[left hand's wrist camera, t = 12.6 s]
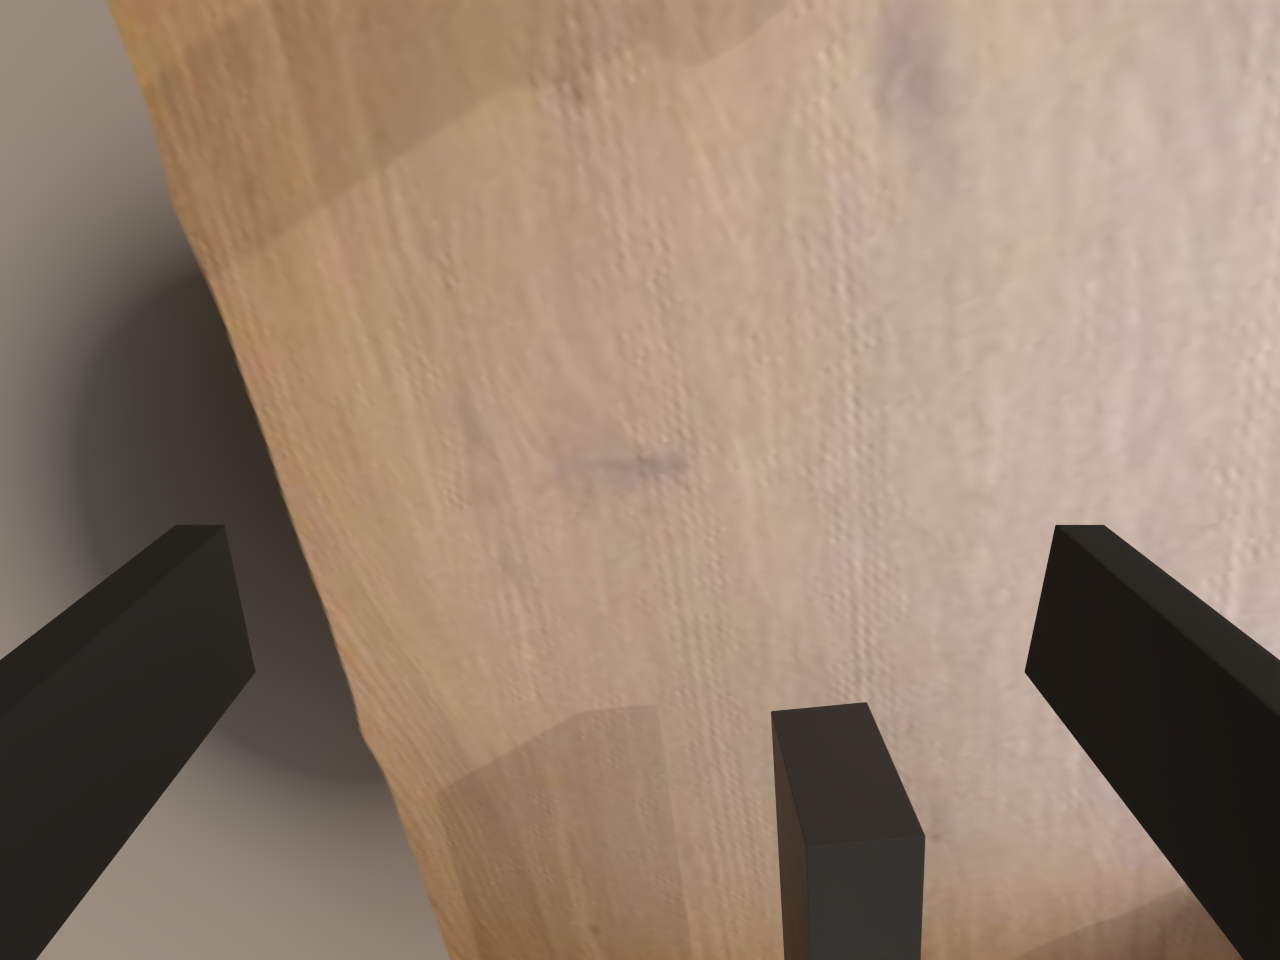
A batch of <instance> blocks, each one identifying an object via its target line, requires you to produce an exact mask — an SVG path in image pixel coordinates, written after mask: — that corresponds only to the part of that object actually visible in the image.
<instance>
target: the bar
mask: <svg viewBox="0 0 1280 960" xmlns="http://www.w3.org/2000/svg"><path fill="white" fill-rule="evenodd" d="M771 720H772V738H773V757H774V775H775V794H776V812H777V830H778V849H779V867H780V886H781V904H782V922H783V941H784V959H785V960H920V958H921V933H922V907H923V881H924V856H925V834H924V832H923V830H922V828H921V825H920V823H919V821H918V818H917V816H916V814H915V812H914V809H913V807H912V805H911V802H910V800H909V798H908V796H907V793H906V791H905V789H904V786H903V784H902V782H901V780H900V777H899V775H898V773H897V770H896V768H895V766H894V764H893V761H892V759H891V757H890V754H889V752H888V750H887V748H886V745H885V743H884V741H883V738H882V736H881V734H880V731H879V729H878V727H877V725H876V722H875V720H874V718H873V715H872V713H871V711H870V709H869V706H868V704H867V702H864V703H853V704H843V705H833V706H822V707H812V708H801V709H791V710H780V711H772V712H771Z"/></svg>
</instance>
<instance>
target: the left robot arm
mask: <svg viewBox="0 0 1280 960" xmlns="http://www.w3.org/2000/svg"><path fill="white" fill-rule="evenodd" d="M254 673H255V668H254V663H253V658H252V653H251V649H250V644H249V639H248V635H247V630H246V625H245V620H244V616H243V611H242V606H241V602H240V597H239V592H238V587H237V583H236V578H235V573H234V568H233V563H232V559H231V554H230V549H229V544H228V540H227V535H226V530H225V526H224V525H175V526H174V527H173V528H171V529H170V530H169V531H167V532H166V533H165V534H164V535H162V536H161V537H160V538H158V539H157V540H156V541H155V542H153V543H152V544H151V545H149V546H148V547H147V548H145V549H144V550H143V551H142V552H140V553H139V554H138V555H136V556H135V557H134V558H133V559H131V560H130V561H129V562H127V563H126V564H125V565H123V566H122V567H121V568H119V569H118V570H117V571H116V572H114V573H113V574H112V575H110V576H109V577H108V578H106V579H105V580H104V581H103V582H101V583H100V584H99V585H97V586H96V587H95V588H93V589H92V590H91V591H90V592H88V593H87V594H86V595H84V596H83V597H82V598H80V599H79V600H78V601H77V602H75V603H74V604H73V605H71V606H70V607H69V608H67V609H66V610H65V611H64V612H62V613H61V614H60V615H58V616H57V617H56V618H54V619H53V620H52V621H51V622H49V623H48V624H47V625H45V626H44V627H43V628H41V629H40V630H39V631H38V632H36V633H35V634H34V635H32V636H31V637H30V638H28V639H27V640H26V641H25V642H23V643H22V644H21V645H19V646H18V647H17V648H16V649H14V650H13V651H12V652H10V653H9V654H8V655H6V656H5V657H4V658H2V659H1V660H0V960H36V959H37V958H38V956H39V955H40V954H41V952H42V951H43V950H44V948H45V947H46V946H47V944H48V943H49V942H50V941H51V939H52V938H53V937H54V935H55V934H56V933H57V931H58V930H59V929H60V928H61V926H62V925H63V924H64V922H65V921H66V920H67V918H68V917H69V916H70V914H71V913H72V912H73V910H74V909H75V908H76V907H77V905H78V904H79V903H80V901H81V900H82V899H83V897H84V896H85V895H86V893H87V892H88V891H89V889H90V888H91V887H92V886H93V884H94V883H95V882H96V880H97V879H98V878H99V876H100V875H101V874H102V872H103V871H104V870H105V868H106V867H107V866H108V865H109V863H110V862H111V861H112V859H113V858H114V857H115V855H116V854H117V853H118V851H119V850H120V849H121V847H122V846H123V845H124V844H125V842H126V841H127V840H128V838H129V837H130V836H131V834H132V833H133V832H134V831H135V829H136V828H137V826H138V825H139V824H140V823H141V821H142V820H143V819H144V817H145V816H146V815H147V813H148V812H149V811H150V810H151V808H152V807H153V806H154V804H155V803H156V802H157V800H158V799H159V798H160V796H161V795H162V794H163V792H164V791H165V790H166V788H167V787H168V786H169V785H170V783H171V782H172V781H173V779H174V778H175V777H176V775H177V774H178V773H179V772H180V770H181V769H182V767H183V766H184V765H185V764H186V762H187V761H188V760H189V758H190V757H191V756H192V754H193V753H194V752H195V751H196V749H197V748H198V747H199V745H200V744H201V743H202V741H203V740H204V739H205V737H206V736H207V735H208V734H209V732H210V731H211V730H212V728H213V727H214V726H215V724H216V723H217V722H218V720H219V719H220V718H221V716H222V715H223V714H224V713H225V711H226V710H227V709H228V707H229V706H230V705H231V703H232V702H233V701H234V699H235V698H236V697H237V695H238V694H239V693H240V692H241V690H242V689H243V688H244V686H245V685H246V684H247V682H248V681H249V680H250V678H251V677H252V676H253V675H254ZM1025 673H1026V675H1027V676H1028V677H1029V678H1030V680H1031V681H1032V682H1033V684H1034V685H1035V686H1036V688H1037V689H1038V690H1039V692H1040V693H1041V694H1042V695H1043V697H1044V698H1045V699H1046V701H1047V702H1048V703H1049V705H1050V706H1051V707H1052V709H1053V710H1054V711H1055V713H1056V714H1057V715H1058V716H1059V718H1060V719H1061V720H1062V722H1063V723H1064V724H1065V726H1066V727H1067V728H1068V730H1069V731H1070V732H1071V734H1072V735H1073V736H1074V737H1075V739H1076V740H1077V741H1078V743H1079V744H1080V745H1081V747H1082V748H1083V749H1084V751H1085V752H1086V753H1087V754H1088V756H1089V757H1090V758H1091V760H1092V761H1093V762H1094V764H1095V765H1096V766H1097V768H1098V769H1099V770H1100V772H1101V773H1102V774H1103V775H1104V777H1105V778H1106V779H1107V781H1108V782H1109V783H1110V785H1111V786H1112V787H1113V789H1114V790H1115V791H1116V792H1117V794H1118V795H1119V796H1120V798H1121V799H1122V800H1123V802H1124V803H1125V804H1126V806H1127V807H1128V808H1129V810H1130V811H1131V812H1132V813H1133V815H1134V816H1135V817H1136V819H1137V820H1138V821H1139V823H1140V824H1141V825H1142V827H1143V828H1144V829H1145V831H1146V832H1147V833H1148V834H1149V836H1150V837H1151V838H1152V840H1153V841H1154V842H1155V844H1156V845H1157V846H1158V848H1159V849H1160V850H1161V851H1162V853H1163V854H1164V855H1165V857H1166V858H1167V859H1168V861H1169V862H1170V863H1171V865H1172V866H1173V867H1174V869H1175V870H1176V871H1177V872H1178V874H1179V875H1180V876H1181V878H1182V879H1183V880H1184V882H1185V883H1186V884H1187V886H1188V887H1189V888H1190V889H1191V891H1192V892H1193V893H1194V895H1195V896H1196V897H1197V899H1198V900H1199V901H1200V903H1201V904H1202V905H1203V907H1204V908H1205V909H1206V910H1207V912H1208V913H1209V914H1210V916H1211V917H1212V918H1213V920H1214V921H1215V922H1216V924H1217V925H1218V926H1219V928H1220V929H1221V930H1222V931H1223V933H1224V934H1225V935H1226V937H1227V938H1228V939H1229V941H1230V942H1231V943H1232V945H1233V946H1234V947H1235V948H1236V950H1237V951H1238V952H1239V954H1240V955H1241V956H1242V958H1243V959H1244V960H1280V660H1279V659H1278V658H1276V657H1275V656H1274V655H1272V654H1271V653H1270V652H1268V651H1267V650H1266V649H1265V648H1263V647H1262V646H1261V645H1259V644H1258V643H1257V642H1255V641H1254V640H1253V639H1252V638H1250V637H1249V636H1248V635H1246V634H1245V633H1244V632H1242V631H1241V630H1240V629H1239V628H1237V627H1236V626H1235V625H1233V624H1232V623H1231V622H1229V621H1228V620H1227V619H1226V618H1224V617H1223V616H1222V615H1220V614H1219V613H1218V612H1216V611H1215V610H1214V609H1213V608H1211V607H1210V606H1209V605H1207V604H1206V603H1205V602H1203V601H1202V600H1201V599H1200V598H1198V597H1197V596H1196V595H1194V594H1193V593H1192V592H1190V591H1189V590H1188V589H1187V588H1185V587H1184V586H1183V585H1181V584H1180V583H1179V582H1177V581H1176V580H1175V579H1174V578H1172V577H1171V576H1170V575H1168V574H1167V573H1166V572H1164V571H1163V570H1162V569H1161V568H1159V567H1158V566H1157V565H1155V564H1154V563H1153V562H1151V561H1150V560H1149V559H1148V558H1146V557H1145V556H1144V555H1142V554H1141V553H1140V552H1138V551H1137V550H1136V549H1135V548H1133V547H1132V546H1131V545H1129V544H1128V543H1127V542H1125V541H1124V540H1123V539H1122V538H1120V537H1119V536H1118V535H1116V534H1115V533H1114V532H1113V531H1111V530H1110V529H1109V528H1107V527H1106V526H1105V525H1055V530H1054V535H1053V540H1052V544H1051V549H1050V554H1049V559H1048V563H1047V568H1046V573H1045V578H1044V582H1043V587H1042V592H1041V597H1040V601H1039V606H1038V611H1037V616H1036V620H1035V625H1034V630H1033V634H1032V639H1031V644H1030V649H1029V653H1028V658H1027V663H1026V668H1025Z"/></svg>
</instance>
